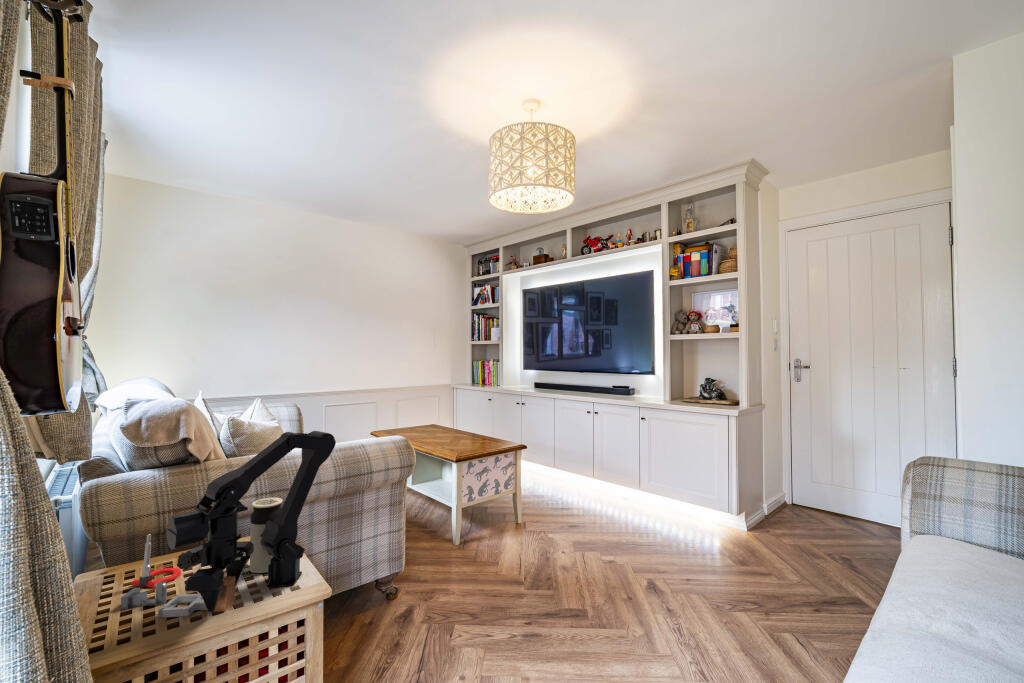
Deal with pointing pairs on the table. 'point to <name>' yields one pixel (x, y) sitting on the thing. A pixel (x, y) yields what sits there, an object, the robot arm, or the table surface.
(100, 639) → the table surface
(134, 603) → the hook
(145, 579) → the tow hook
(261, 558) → the travel mug
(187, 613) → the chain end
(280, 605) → the table surface
